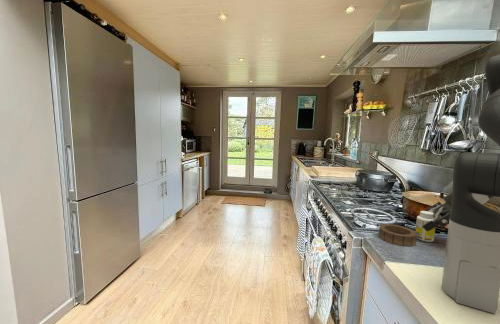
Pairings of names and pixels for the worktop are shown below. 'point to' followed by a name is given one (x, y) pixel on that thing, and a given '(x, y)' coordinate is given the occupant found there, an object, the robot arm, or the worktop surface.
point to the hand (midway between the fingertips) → (421, 225)
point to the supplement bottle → (420, 231)
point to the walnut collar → (397, 235)
